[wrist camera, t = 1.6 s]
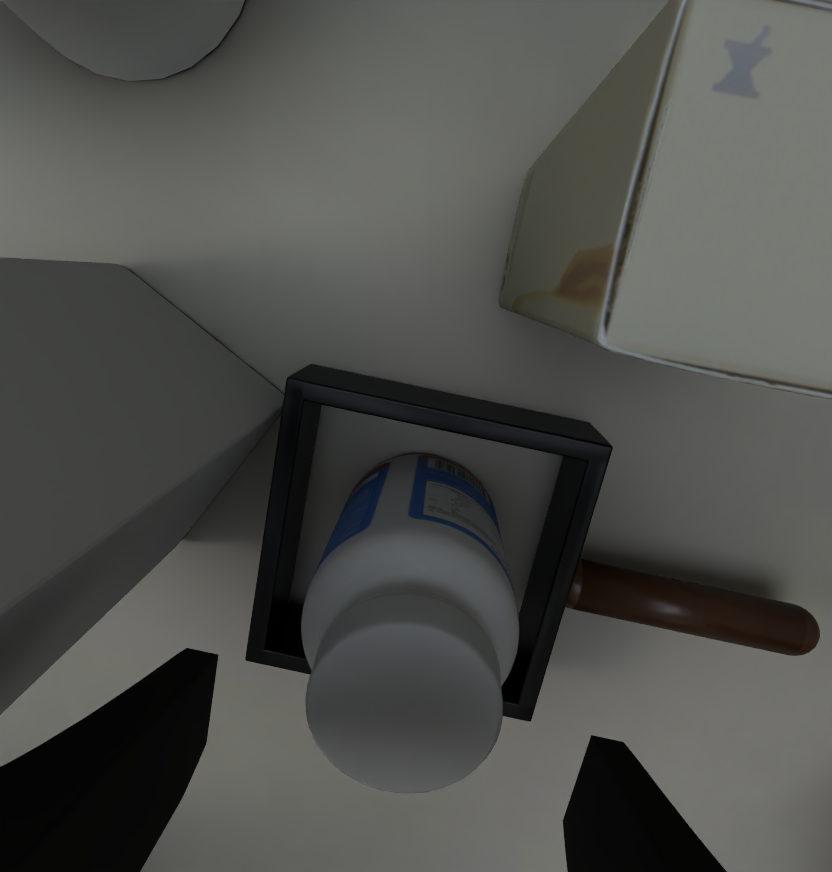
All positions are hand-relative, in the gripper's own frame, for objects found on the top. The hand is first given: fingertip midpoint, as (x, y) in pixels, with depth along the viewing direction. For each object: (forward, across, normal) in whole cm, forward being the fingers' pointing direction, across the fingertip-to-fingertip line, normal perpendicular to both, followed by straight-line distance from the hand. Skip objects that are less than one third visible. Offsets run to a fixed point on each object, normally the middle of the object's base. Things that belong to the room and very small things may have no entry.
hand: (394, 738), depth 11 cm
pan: (+10, -4, 0) cm, 11 cm away
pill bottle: (+11, 0, 0) cm, 11 cm away
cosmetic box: (+11, -4, -10) cm, 15 cm away
